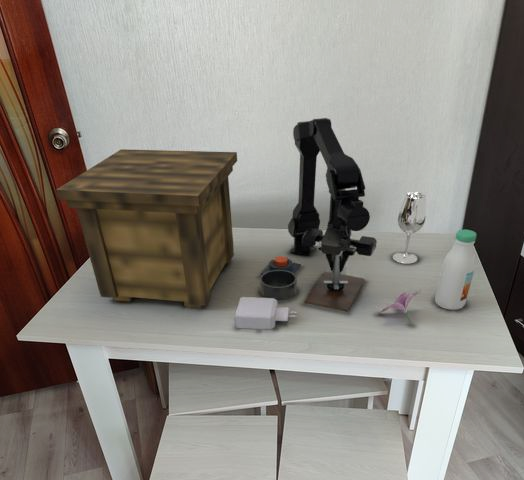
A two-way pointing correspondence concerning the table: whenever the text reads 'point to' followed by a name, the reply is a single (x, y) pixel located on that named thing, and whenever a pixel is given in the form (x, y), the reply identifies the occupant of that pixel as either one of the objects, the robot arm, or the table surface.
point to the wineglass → (411, 222)
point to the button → (281, 261)
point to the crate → (156, 222)
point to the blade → (336, 275)
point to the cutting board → (335, 292)
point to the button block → (290, 267)
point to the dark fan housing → (278, 284)
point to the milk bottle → (457, 272)
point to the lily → (401, 302)
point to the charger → (260, 313)
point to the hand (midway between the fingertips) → (336, 270)
